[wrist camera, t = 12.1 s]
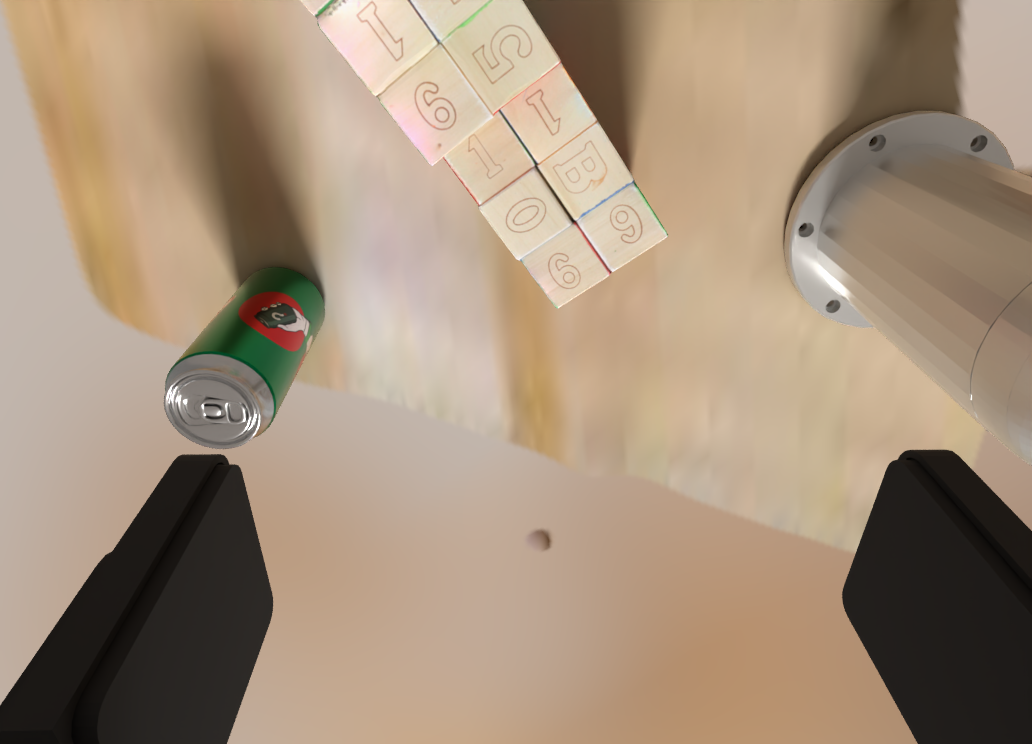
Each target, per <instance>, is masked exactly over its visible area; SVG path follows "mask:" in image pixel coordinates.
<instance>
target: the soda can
mask: <svg viewBox="0 0 1032 744" xmlns="http://www.w3.org/2000/svg"><path fill="white" fill-rule="evenodd" d="M324 317H325V307H324V302H323V299H322V296H321V295H320V293H319V291H318V289H317V288H316V287H315V285H314V284H313V283H312V282H311V281H310V280H308V279H307V278H306V277H305V276H303V275H301V274H299V273H298V272H295V271H293V270H290V269H286V268H280V267H270V268H264V269H261V270H258V271H257V272H255V273H253V274H252V275H250V276H249V277H248V278H247V279H246V281H245V282H244V283H243V284H242V285H241V286H240V288H239V289H238V290H237V291H236V292H235V293H234V295H233V296H232V297H231V298H230V299H229V301H228V302H227V303H226V304H225V305H224V306H223V308H222V309H221V310H220V311H219V312H218V314H217V315H216V316H215V317H214V318H213V319H212V321H211V322H210V323H209V324H208V325H207V327H206V328H205V329H204V330H203V331H202V332H201V334H200V335H199V336H198V337H197V338H196V340H195V341H194V342H193V343H192V344H191V345H190V347H189V348H188V349H187V350H186V351H185V353H184V354H183V355H182V356H181V357H180V359H179V360H178V361H177V362H176V363H175V365H174V366H173V367H172V368H171V370H170V371H169V373H168V375H167V379H166V385H165V396H164V407H165V411H166V414H167V417H168V419H169V421H170V422H171V423H172V425H173V426H174V427H175V428H176V429H177V431H178V432H180V433H181V434H182V435H183V436H185V437H186V438H188V439H189V440H191V441H193V442H195V443H197V444H199V445H202V446H205V447H209V448H215V449H229V448H235V447H238V446H241V445H243V444H245V443H247V442H248V441H250V440H251V439H252V438H255V437H257V436H259V435H260V434H262V433H263V432H264V431H265V430H266V429H267V428H268V427H269V426H270V425H271V423H272V422H273V420H274V418H275V416H276V414H277V412H278V410H279V408H280V406H281V404H282V402H283V400H284V398H285V396H286V394H287V392H288V390H289V389H290V387H291V385H292V383H293V381H294V379H295V377H296V375H297V373H298V371H299V369H300V367H301V365H302V363H303V361H304V359H305V357H306V355H307V353H308V352H309V350H310V348H311V346H312V344H313V342H314V340H315V338H316V336H317V334H318V332H319V330H320V328H321V326H322V324H323V321H324Z"/></svg>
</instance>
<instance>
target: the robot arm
mask: <svg viewBox="0 0 1032 744" xmlns="http://www.w3.org/2000/svg"><path fill="white" fill-rule="evenodd" d="M873 137H874V139H873V141H872V143H870V141H871V139H872V138H873ZM869 143H870V144H869ZM803 223H804V225H803V227H802V228H801V229H799V228H800V226H801V225H802V224H803ZM784 254H785V261H786V268H787V270H788V273H789V276H790V278H791V281H792V284H793V285H794V287H795V288H796V289H797V291H798V292H799V294H800V295H801V297H802V298H803V299H804V300H805V301H806V302H807V303H808V304H809V305H810V306H811V307H812V308H813V309H814V310H816V311H817V312H818V313H820V314H821V315H822V316H824V317H826V318H827V319H830V320H832V321H835V322H837V323H840V324H842V325H847V326H852V327H858V328H876V329H877V330H878V331H879V332H880V333H881V334H882V335H883V336H884V337H885V338H887V339H888V340H889V341H890V342H891V343H892V344H893V345H894V346H895V347H896V348H897V349H899V350H900V351H901V352H902V353H903V354H904V355H905V356H906V357H907V358H908V359H909V360H911V361H912V362H913V363H914V364H915V365H916V366H917V367H918V368H919V369H920V370H921V371H923V372H924V373H925V374H926V375H927V376H928V377H929V378H930V379H931V380H932V381H933V382H935V383H936V384H937V385H938V386H939V387H940V388H941V389H942V390H943V391H944V392H945V393H947V394H948V395H949V396H950V397H951V398H952V399H953V400H954V401H955V402H956V403H957V404H959V405H960V406H961V407H962V408H963V409H964V410H965V411H966V412H967V413H968V414H969V415H971V416H972V417H973V418H974V419H975V420H976V421H977V422H978V423H979V424H980V425H981V426H983V427H984V428H985V429H986V430H987V431H988V432H990V433H991V434H992V435H993V436H994V437H995V438H996V439H998V440H999V441H1000V442H1001V443H1002V444H1003V445H1004V446H1005V447H1006V448H1008V449H1009V450H1010V451H1011V452H1013V453H1014V454H1015V455H1016V456H1018V457H1019V458H1021V459H1022V460H1024V461H1025V462H1026V463H1028V464H1030V465H1032V177H1030V176H1027V175H1025V174H1022V173H1019V172H1017V171H1014V165H1013V163H1012V160H1011V158H1010V156H1009V154H1008V152H1007V150H1006V147H1005V146H1004V145H1003V144H1002V143H1001V141H1000V140H999V139H998V138H997V137H996V135H995V134H994V133H993V132H991V131H990V130H988V129H987V128H986V127H984V126H983V125H981V124H980V123H978V122H976V121H973V120H971V119H968V118H965V117H962V116H959V115H956V114H951V113H947V112H942V111H913V112H907V113H902V114H897V115H893V116H890V117H887V118H885V119H882V120H880V121H877V122H874V123H872V124H870V125H868V126H866V127H865V128H863V129H861V130H859V131H858V132H856V133H854V134H852V135H851V136H849V137H848V138H847V139H845V140H844V141H843V142H842V143H840V144H839V145H838V146H837V147H835V148H834V149H833V150H832V151H830V152H829V153H828V154H827V156H826V157H825V158H824V159H823V160H822V161H821V162H820V163H819V164H818V165H817V166H816V167H815V169H814V170H813V171H812V173H811V174H810V176H809V177H808V178H807V180H806V181H805V183H804V184H803V186H802V187H801V189H800V191H799V193H798V195H797V197H796V199H795V202H794V204H793V206H792V208H791V211H790V214H789V218H788V222H787V226H786V229H785V242H784ZM842 598H843V605H844V609H845V612H846V614H847V616H848V618H849V620H850V621H851V623H852V625H853V627H854V629H855V631H856V632H857V634H858V636H859V638H860V640H861V641H862V643H863V645H864V647H865V649H866V650H867V652H868V654H869V656H870V658H871V660H872V661H873V663H874V665H875V667H876V669H877V670H878V672H879V674H880V676H881V678H882V679H883V681H884V683H885V685H886V687H887V688H888V690H889V692H890V694H891V696H892V697H893V699H894V701H895V703H896V705H897V707H898V709H899V710H900V712H901V714H902V716H903V718H904V719H905V721H906V723H907V725H908V726H909V728H910V730H911V732H912V734H913V736H914V738H915V739H916V741H917V743H918V744H1032V531H1031V530H1030V529H1029V528H1028V527H1027V526H1026V525H1025V524H1024V523H1023V522H1022V521H1021V520H1020V519H1019V518H1018V516H1016V514H1015V513H1014V512H1013V511H1012V510H1011V509H1010V508H1009V507H1008V506H1007V505H1006V504H1005V503H1004V502H1003V501H1002V500H1001V499H1000V498H999V497H998V496H997V495H996V494H995V493H994V492H993V491H992V490H991V489H990V488H989V487H988V486H987V485H986V484H985V483H984V482H983V480H981V478H980V477H979V476H978V475H977V474H976V473H975V472H974V471H973V470H972V469H971V468H970V467H969V466H968V465H967V464H966V463H965V462H964V461H963V460H962V459H961V458H960V457H959V456H958V455H957V454H955V453H954V452H953V451H949V450H908V451H905V452H903V453H902V454H901V455H900V457H899V458H898V460H895V461H892V462H891V463H890V464H889V465H888V467H887V469H886V472H885V475H884V478H883V480H882V483H881V486H880V489H879V491H878V494H877V497H876V500H875V502H874V505H873V508H872V511H871V513H870V516H869V519H868V522H867V524H866V527H865V530H864V532H863V535H862V538H861V541H860V543H859V546H858V549H857V552H856V554H855V557H854V560H853V563H852V566H851V568H850V571H849V574H848V576H847V579H846V582H845V585H844V588H843V592H842ZM272 611H273V596H272V591H271V587H270V583H269V579H268V575H267V571H266V567H265V563H264V559H263V555H262V551H261V547H260V543H259V539H258V535H257V531H256V527H255V523H254V519H253V515H252V511H251V507H250V503H249V499H248V495H247V491H246V487H245V483H244V480H243V475H242V472H241V469H240V467H239V466H238V465H229V462H228V460H227V458H226V457H225V456H224V455H221V454H217V455H216V454H214V455H213V454H211V455H180V456H178V457H177V458H176V459H175V460H174V461H173V463H172V464H171V466H170V467H169V469H168V470H167V472H166V473H165V475H164V476H163V478H162V479H161V481H160V482H159V483H158V485H157V486H156V488H155V489H154V491H153V493H152V494H151V495H150V497H149V498H148V500H147V501H146V503H145V504H144V506H143V507H142V508H141V510H140V512H139V513H138V514H137V516H136V517H135V519H134V520H133V522H132V523H131V525H130V526H129V528H128V529H127V531H126V532H125V534H124V535H123V536H122V538H121V539H120V541H119V542H118V544H117V545H116V547H115V548H114V550H113V551H112V552H111V553H109V554H107V555H105V557H104V558H103V559H102V560H101V561H100V562H99V563H98V565H97V566H96V567H95V569H94V570H93V572H92V573H91V575H90V576H89V578H88V579H87V580H86V582H85V583H84V585H83V586H82V588H81V589H80V590H79V592H78V594H77V595H76V596H75V598H74V599H73V601H72V602H71V604H70V605H69V607H68V608H67V609H66V611H65V612H64V614H63V615H62V617H61V618H60V620H59V621H58V622H57V624H56V625H55V627H54V628H53V630H52V631H51V633H50V634H49V635H48V637H47V638H46V640H45V641H44V643H43V644H42V646H41V647H40V649H39V650H38V651H37V653H36V654H35V656H34V657H33V659H32V660H31V662H30V663H29V665H28V666H27V667H26V669H25V670H24V672H23V673H22V675H21V676H20V678H19V679H18V680H17V682H16V683H15V685H14V686H13V688H12V689H11V691H10V692H9V694H8V695H7V696H6V698H5V700H4V701H3V702H2V704H1V705H0V744H227V742H228V739H229V736H230V733H231V730H232V728H233V724H234V722H235V719H236V716H237V714H238V711H239V708H240V705H241V702H242V699H243V697H244V694H245V691H246V688H247V686H248V683H249V680H250V677H251V674H252V672H253V669H254V666H255V663H256V660H257V657H258V655H259V652H260V649H261V646H262V643H263V641H264V638H265V635H266V632H267V629H268V627H269V624H270V621H271V617H272Z"/></svg>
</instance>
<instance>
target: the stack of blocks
mask: <svg viewBox="0 0 1032 744" xmlns="http://www.w3.org/2000/svg"><path fill="white" fill-rule="evenodd" d="M300 1H301V2H302V3H303V4H304V6H305V7H306V8H307V9H308V11H309V12H310V13H311V14H312V15H314V16H315V17H316V18H317V20H318V26H319V28H320V30H321V31H322V32H323V33H324V34H325V36H326V37H327V38H328V40H329V41H330V42H331V43H332V45H333V46H334V47H335V48H336V49H337V50H338V52H339V53H340V54H341V56H342V57H343V58H344V59H345V61H346V62H347V63H348V64H349V66H350V67H351V68H352V69H353V71H354V72H355V73H356V74H357V76H358V77H359V78H360V79H361V81H362V82H363V83H364V84H365V86H366V87H367V88H368V89H369V91H370V92H371V93H372V94H374V95H375V96H376V97H378V99H379V100H380V102H381V104H382V106H383V107H384V108H385V109H386V111H387V112H388V113H389V114H390V116H391V117H392V118H393V119H394V121H395V122H396V123H397V124H398V126H399V127H400V128H401V129H402V131H403V132H404V133H405V134H406V136H407V137H408V138H409V140H410V141H411V142H412V143H413V145H414V146H415V147H416V148H417V150H418V151H419V152H420V153H421V154H422V156H423V157H424V158H425V160H426V161H427V162H428V164H430V165H431V166H433V165H434V164H435V163H437V162H438V161H439V160H440V159H442V158H444V160H445V161H446V162H447V164H448V165H449V166H450V168H451V169H452V170H453V172H454V173H455V174H456V176H457V177H458V178H459V180H460V181H461V182H462V184H463V185H464V186H465V188H466V189H467V190H468V192H469V193H470V195H471V196H472V197H473V199H474V200H475V201H476V202H477V204H478V207H479V210H480V211H481V213H482V214H483V215H484V217H485V218H486V219H487V221H488V222H489V224H490V225H491V226H492V228H493V229H494V231H495V232H496V233H497V235H498V236H499V237H500V238H501V240H502V241H503V242H504V244H505V245H506V246H507V248H508V249H509V250H510V252H511V253H512V254H513V255H514V257H515V258H516V259H517V260H520V261H522V263H523V264H524V266H525V267H526V269H527V270H528V271H529V273H530V274H531V275H532V277H533V278H534V279H535V281H536V282H537V283H538V285H539V286H540V287H541V289H542V290H543V291H544V293H545V294H546V295H547V297H548V298H549V299H550V301H551V302H552V303H553V305H554V306H555V307H556V308H557V309H558V308H559V307H561V306H563V305H564V304H566V303H567V302H569V301H571V300H572V299H574V298H575V297H577V296H578V295H580V294H581V293H583V292H584V291H586V290H587V289H589V288H591V287H592V286H594V285H596V284H597V283H599V282H600V281H602V280H604V279H605V278H607V277H608V276H609V275H610V274H611V272H613V271H615V270H617V269H619V268H620V267H622V266H623V265H625V264H627V263H628V262H630V261H631V260H633V259H634V258H636V257H638V256H639V255H641V254H642V253H643V252H645V251H647V250H648V249H650V248H652V247H653V246H654V245H656V244H658V243H659V242H661V241H662V240H664V239H665V238H667V237H668V234H667V232H666V231H665V229H664V227H663V226H662V224H661V223H660V221H659V219H658V218H657V216H656V215H655V213H654V212H653V210H652V209H651V207H650V205H649V204H648V202H647V200H646V199H645V197H644V196H643V194H642V193H641V191H640V190H639V188H638V186H637V185H636V183H635V182H634V178H633V177H632V175H631V173H630V172H629V170H628V168H627V167H626V165H625V163H624V162H623V160H622V159H621V157H620V156H619V154H618V152H617V151H616V149H615V148H614V146H613V144H612V143H611V141H610V139H609V138H608V136H607V135H606V133H605V131H604V130H603V128H602V127H601V125H600V124H599V122H598V120H597V119H596V117H595V115H594V113H593V112H592V110H591V109H590V107H589V105H588V104H587V102H586V101H585V99H584V97H583V96H582V94H581V93H580V91H579V90H578V88H577V87H576V85H575V84H574V82H573V80H572V79H571V77H570V76H569V74H568V73H567V71H566V70H565V68H564V66H563V65H562V63H561V60H560V58H559V56H558V55H557V53H556V51H555V50H554V48H553V47H552V45H551V44H550V42H549V41H548V39H547V37H546V36H545V34H544V33H543V31H542V30H541V28H540V26H539V25H538V23H537V22H536V20H535V19H534V17H533V15H532V14H531V12H530V11H529V9H528V8H527V6H526V4H525V3H524V1H523V0H300Z"/></svg>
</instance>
